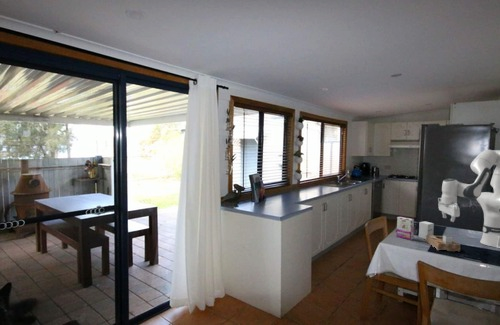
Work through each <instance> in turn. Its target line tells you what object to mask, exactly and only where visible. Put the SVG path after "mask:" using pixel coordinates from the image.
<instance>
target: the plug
mask: <svg viewBox="0 0 500 325" xmlns="http://www.w3.org/2000/svg"><path fill="white" fill-rule="evenodd" d="M442 236H443V242H444V243H450V244H452V240H453V237H452V236H450V235H449V234H447V235H442Z"/></svg>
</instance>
